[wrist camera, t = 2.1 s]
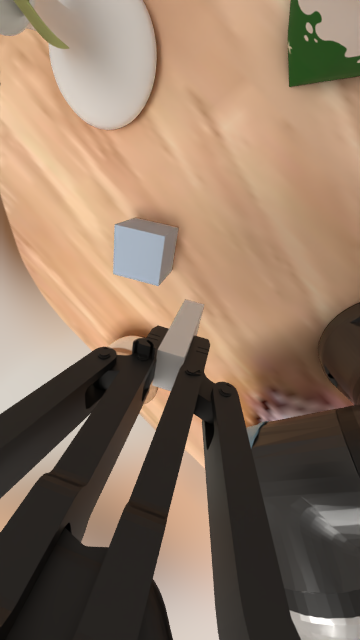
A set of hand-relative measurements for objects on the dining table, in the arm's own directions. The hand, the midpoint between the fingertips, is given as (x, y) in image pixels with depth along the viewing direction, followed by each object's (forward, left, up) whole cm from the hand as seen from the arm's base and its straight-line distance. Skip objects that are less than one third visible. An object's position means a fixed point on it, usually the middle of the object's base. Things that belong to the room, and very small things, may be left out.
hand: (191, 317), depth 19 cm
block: (+9, 0, -17) cm, 19 cm away
